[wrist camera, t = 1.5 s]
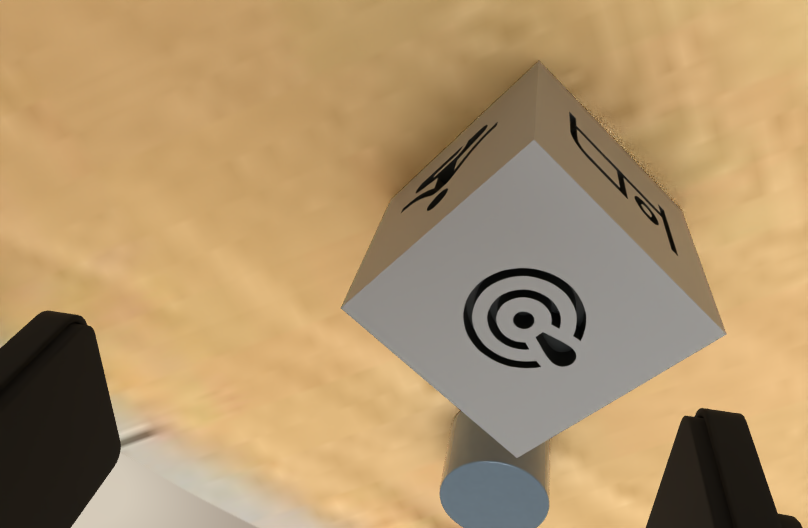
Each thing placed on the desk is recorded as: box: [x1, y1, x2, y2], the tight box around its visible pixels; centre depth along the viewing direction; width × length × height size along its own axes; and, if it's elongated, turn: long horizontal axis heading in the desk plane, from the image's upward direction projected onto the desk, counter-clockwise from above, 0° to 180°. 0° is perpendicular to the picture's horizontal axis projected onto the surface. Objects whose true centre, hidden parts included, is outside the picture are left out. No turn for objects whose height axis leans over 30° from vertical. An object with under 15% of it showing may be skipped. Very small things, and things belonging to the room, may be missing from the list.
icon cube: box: [341, 61, 726, 458], centre depth 30 cm, size 10×10×10 cm
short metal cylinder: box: [440, 411, 550, 528], centre depth 40 cm, size 6×6×5 cm
